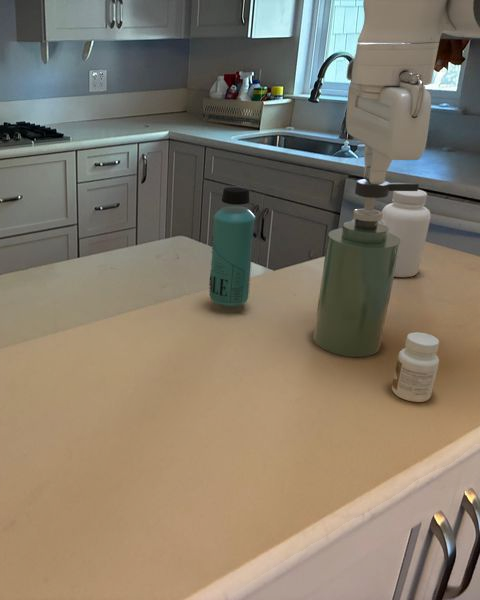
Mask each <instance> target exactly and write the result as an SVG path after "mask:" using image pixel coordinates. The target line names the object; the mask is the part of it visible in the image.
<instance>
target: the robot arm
mask: <svg viewBox="0 0 480 600" xmlns="http://www.w3.org/2000/svg"><path fill="white" fill-rule="evenodd" d="M362 6H363V7H362V8H363V13H364V16H363V17H364V18H363V25H362V28H361V31H360V33H359V36H358V38H357V42H356V49H355V54H354V57H353V59H352V60H350V61H349V63H348V64H347V69H346V79H347V80H348V81H350V82H349V85H348V90H347V100H346V101H347V102H346V113H345V114H346V115H345V127H346V132H347V134H348V135H349V136H351V137H352V138H353V139H356V140H357V141H359V142H361V143H362V144H364V148H363V156H364V157H363V158H364V169H363V179H366V180H367V181H369V182H370V183H371V184H383V183H384V181H386V177H387V171H388V169H389V168H390V165H391V164H392V162H393V161H418V160H420V159H421V157H423V154H424V152H425V150H426V148H427V147H426V146H427V140H428V134H429V127H430V121H431V120H430V119H431V112H432V96H431V93H430V91H428V90H427V89H426V86H429V85H431V84H432V81H433V76H434V71H435V67H436V61H437V55H438V51H439V46H440V41H441V36H442V34H445V35H448V36H452V37H457V38H459V37H460V38H462V37H463V38H472V39H480V0H363V2H362Z"/></svg>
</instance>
